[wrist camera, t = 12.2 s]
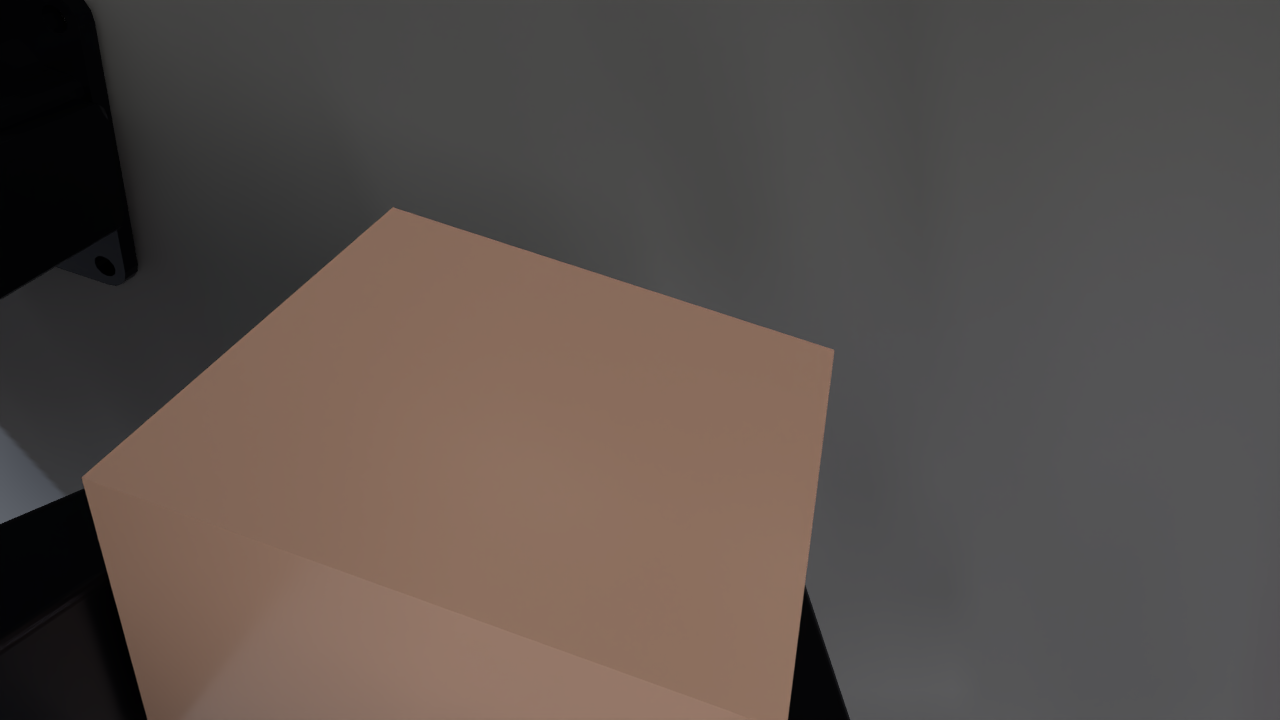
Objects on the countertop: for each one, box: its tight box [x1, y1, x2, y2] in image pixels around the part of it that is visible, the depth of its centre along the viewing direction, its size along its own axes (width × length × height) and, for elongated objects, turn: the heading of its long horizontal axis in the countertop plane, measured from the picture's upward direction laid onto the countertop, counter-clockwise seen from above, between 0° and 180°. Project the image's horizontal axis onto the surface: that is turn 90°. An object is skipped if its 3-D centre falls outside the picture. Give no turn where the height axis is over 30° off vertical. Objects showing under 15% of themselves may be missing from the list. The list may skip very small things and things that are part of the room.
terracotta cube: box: [82, 208, 834, 720], centre depth 8 cm, size 4×4×4 cm
